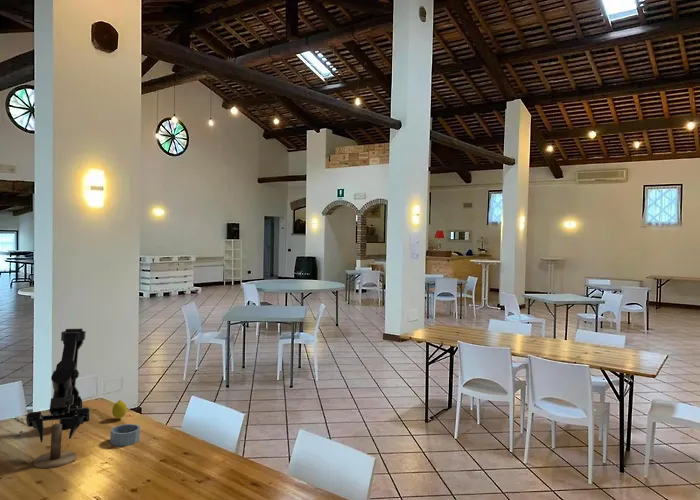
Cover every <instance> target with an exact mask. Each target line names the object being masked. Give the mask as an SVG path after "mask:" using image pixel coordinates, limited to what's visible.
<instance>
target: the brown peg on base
mask: <svg viewBox="0 0 700 500" xmlns="http://www.w3.org/2000/svg"><path fill="white" fill-rule="evenodd" d="M62 432H63V430H62V424H59V423H55V424H52V425H51V434H50V435H51V436H50V452H46V453H44V454H41V455H39V456H37V457H36V458H35V459H33V462H32V463H33V466H34V467H35V468H38V469H54V468H59V467H63V466H66V465H70V464H71V463H73V462H74V461H75V460H76V459H77V453H76V452H74V451H72V450H62V436H63V435H62V434H63V433H62Z"/></svg>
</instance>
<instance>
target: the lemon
mask: <svg viewBox="0 0 700 500" xmlns="http://www.w3.org/2000/svg"><path fill="white" fill-rule="evenodd" d="M127 409H128V407H127V404H126V403H125V402H124V401H123V400H118V401H117V402H115V403H114V404H113V407H112V410H111V411H112V413H111V414H112V416H113V417H114V418H115V419H118V420H121V418H123V417H125V415H126V413H127Z"/></svg>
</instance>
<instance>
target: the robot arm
mask: <svg viewBox="0 0 700 500" xmlns="http://www.w3.org/2000/svg"><path fill="white" fill-rule="evenodd" d="M86 332H87V331H86V330H83V328H66V329H65V330H64V331H61V335H60V336H61V337H60V342H62V344H63V349H62V354H61V355H62V356H61V359H60V361H58V363H57V364H56V367H55V370H53V372H52V374H51V377H50V378H51V381H52V382H51V383H52V388H53V394H52V397H51V398H50V404H49V409H48V410H49V411H48V412H49V413H50V414H42V411H40V410H39V411H29V412H28V413H27V414H26V416H25V417H26V418H25V420H26V425H27V427H29V428H31V427H33V428H32V429H37V432H38V435H39V440H40V443H43V440H44V422H48V421H55V420H56V421H57V420H59V423H58V424H62V431H63V430H67V429H70V430H69V435H68V440H71V439H72V437H73V436H74V433H75V432H76V430H78V428H79V427H80V425H83V424H84V423H87V422H90V417H91V416H90V415H91V411H90V410H91V409H90V408H89V407H83V399H82V398H81V396H80V391H79V390H78V388H77V387H76V382H77V380H78V378H79V376H80V371H79V370H78V358H79V350H80V349H81V347H82V346H83V344H84V341H85V340H86Z"/></svg>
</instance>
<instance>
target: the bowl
mask: <svg viewBox="0 0 700 500" xmlns="http://www.w3.org/2000/svg"><path fill="white" fill-rule="evenodd" d="M140 436H141V426H140V425H138V424H133V423H126V424H120V425H116V426H114V427H112V428H111V429H110V439H109V441H110V442H109V444H111V445H112V446H116V447H124V446H125V447H126V446H131V445H135V444H137V443H138V442H139V441H140V439H139V438H141V437H140ZM137 441H138V442H137ZM134 443H135V444H134Z"/></svg>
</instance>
